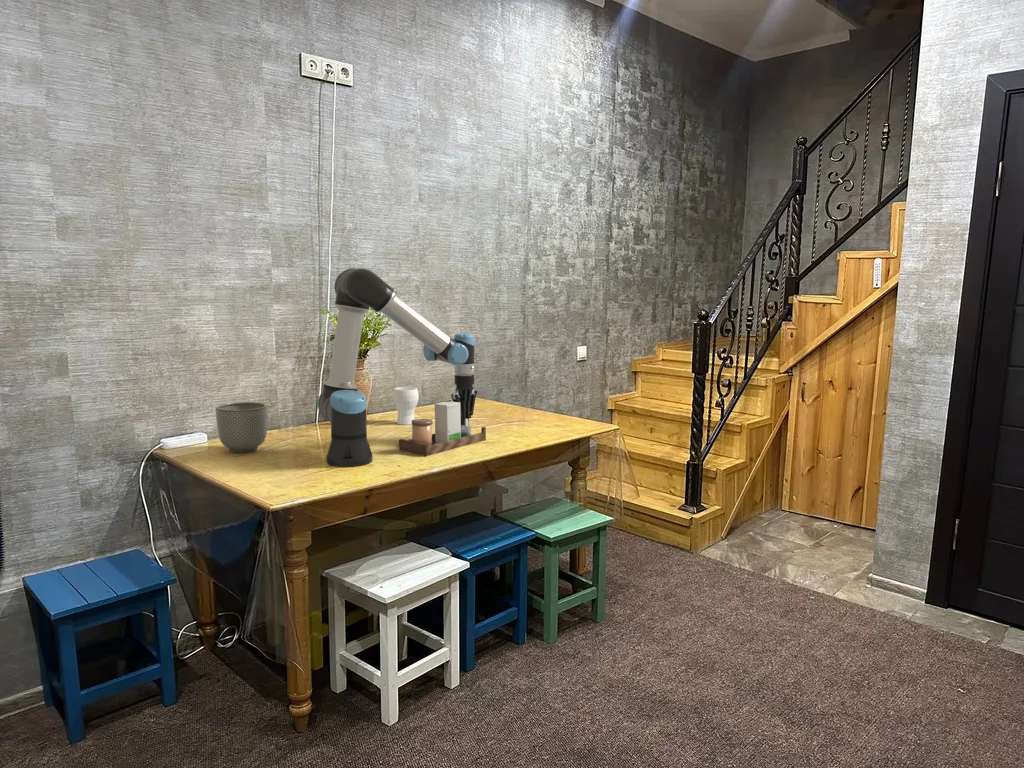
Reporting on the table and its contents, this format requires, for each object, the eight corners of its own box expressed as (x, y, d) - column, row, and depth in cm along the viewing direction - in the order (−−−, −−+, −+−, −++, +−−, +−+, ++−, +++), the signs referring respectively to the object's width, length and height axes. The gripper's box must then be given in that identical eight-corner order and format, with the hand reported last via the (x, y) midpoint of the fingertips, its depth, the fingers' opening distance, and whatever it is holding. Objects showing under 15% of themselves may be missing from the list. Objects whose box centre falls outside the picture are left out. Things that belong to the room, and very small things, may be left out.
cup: (423, 422, 303) (423, 388, 301) (407, 426, 294) (407, 391, 292) (404, 419, 309) (404, 385, 307) (388, 423, 300) (387, 388, 298)
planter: (273, 444, 261) (271, 401, 258) (265, 455, 244) (263, 410, 241) (223, 445, 258) (221, 402, 255) (212, 457, 241) (209, 411, 238)
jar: (422, 454, 249) (422, 423, 248) (407, 451, 254) (407, 420, 252) (436, 450, 255) (436, 420, 253) (421, 447, 259) (421, 417, 258)
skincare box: (447, 447, 260) (446, 405, 257) (433, 444, 264) (433, 403, 261) (461, 442, 267) (461, 402, 264) (448, 440, 270) (447, 400, 268)
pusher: (468, 442, 267) (469, 426, 266) (448, 438, 273) (448, 423, 272) (476, 440, 270) (476, 424, 270) (456, 436, 277) (456, 421, 276)
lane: (425, 456, 246) (425, 442, 246) (398, 450, 254) (398, 436, 254) (485, 439, 272) (485, 427, 272) (459, 434, 280) (459, 422, 280)
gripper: (460, 377, 261) (460, 439, 265) (482, 373, 272) (482, 433, 275) (445, 375, 266) (445, 436, 269) (468, 371, 276) (468, 430, 280)
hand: (464, 434), depth 272 cm, fingers closed
